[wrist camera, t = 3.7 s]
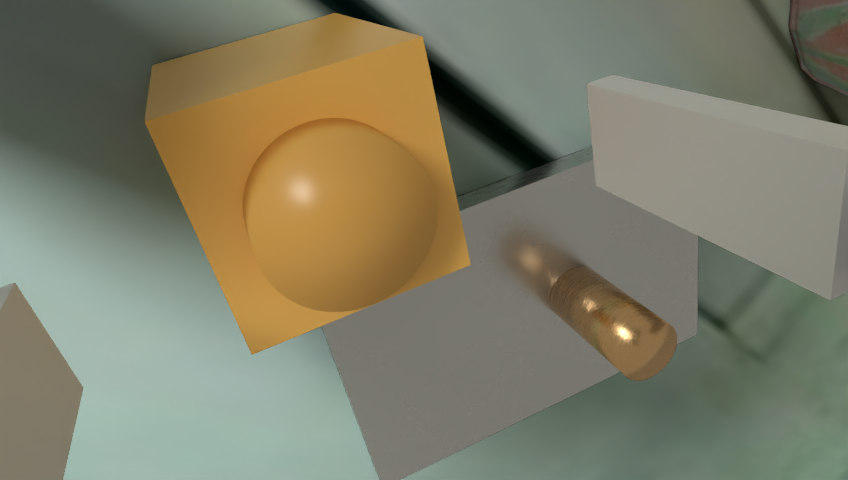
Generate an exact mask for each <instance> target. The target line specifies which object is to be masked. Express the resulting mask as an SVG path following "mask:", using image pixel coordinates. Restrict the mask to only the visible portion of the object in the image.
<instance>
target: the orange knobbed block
mask: <svg viewBox="0 0 848 480" xmlns="http://www.w3.org/2000/svg"><path fill="white" fill-rule="evenodd" d="M144 122H145V124H146V126H147V128H148V130H149V133H150V135H151V137H152V139H153V141H154V143H155V146H156V148H157V150H158V152H159V154H160V156H161V159H162V161H163V163H164V165H165V167H166V169H167V172H168V174H169V176H170V178H171V180H172V182H173V185H174V187H175V189H176V191H177V193H178V195H179V198H180V200H181V202H182V204H183V206H184V208H185V211H186V213H187V215H188V217H189V219H190V221H191V224H192V226H193V228H194V230H195V232H196V234H197V237H198V239H199V241H200V243H201V245H202V247H203V250H204V252H205V254H206V256H207V258H208V260H209V263H210V265H211V267H212V269H213V271H214V273H215V276H216V278H217V280H218V282H219V284H220V286H221V289H222V291H223V293H224V295H225V297H226V299H227V302H228V304H229V306H230V308H231V310H232V312H233V315H234V317H235V319H236V321H237V323H238V325H239V328H240V330H241V332H242V334H243V336H244V338H245V341H246V343H247V345H248V347H249V349H250V351H251V354H252V355H253V354H255V353H257V352H260V351H262V350H265V349H267V348H270V347H272V346H274V345H277V344H279V343H282V342H284V341H287V340H289V339H291V338H294V337H296V336H299V335H301V334H304V333H306V332H308V331H311V330H313V329H316V328H318V327H321V326H323V325H326V324H328V323H330V322H333V321H335V320H338V319H340V318H343V317H345V316H347V315H350V314H352V313H355V312H357V311H360V310H362V309H364V308H367V307H369V306H372V305H374V304H377V303H379V302H382V301H384V300H386V299H389V298H391V297H394V296H396V295H399V294H401V293H403V292H406V291H408V290H411V289H413V288H416V287H418V286H420V285H423V284H425V283H428V282H430V281H433V280H435V279H437V278H440V277H442V276H445V275H447V274H450V273H452V272H455V271H457V270H459V269H462V268H464V267H467V266H469V265H471V263H470V258H469V254H468V249H467V244H466V239H465V235H464V230H463V225H462V220H461V216H460V211H459V206H458V202H457V197H456V192H455V187H454V183H453V178H452V173H451V168H450V164H449V159H448V154H447V149H446V145H445V140H444V135H443V131H442V126H441V121H440V116H439V112H438V107H437V102H436V97H435V93H434V88H433V83H432V78H431V74H430V69H429V64H428V59H427V55H426V50H425V45H424V41H423V36H419V35H416V34H412V33H408V32H404V31H401V30H397V29H393V28H390V27H386V26H382V25H378V24H375V23H371V22H367V21H363V20H360V19H356V18H352V17H349V16H345V15H341V14H337V13H333V14H329V15H326V16H322V17H319V18H315V19H312V20H308V21H305V22H301V23H298V24H294V25H291V26H287V27H284V28H280V29H277V30H273V31H270V32H266V33H263V34H259V35H256V36H252V37H249V38H245V39H242V40H238V41H235V42H231V43H228V44H224V45H221V46H217V47H214V48H210V49H207V50H203V51H200V52H196V53H193V54H189V55H186V56H182V57H179V58H175V59H172V60H168V61H165V62H161V63H158V64H154V65H152V71H151V78H150V85H149V92H148V99H147V107H146V114H145V121H144Z"/></svg>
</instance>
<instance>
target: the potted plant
mask: <svg viewBox="0 0 848 480" xmlns="http://www.w3.org/2000/svg"><path fill="white" fill-rule="evenodd" d="M789 30H790V33H791V37H792V40H793V43H794V47H795V50H796V53H797V57H798V60H799V64H800V67H801V69H802V70H803V71H804V72H805V73H806V74H807V75H808V76H809V77H811V78H812V79H813V80H815V81H817V82H819V83H821V84H823V85H825V86H827V87H829V88H831V89H833V90H836V91H838V92H840V93H842V94H844V95H846V96H848V0H791V8H790V18H789Z"/></svg>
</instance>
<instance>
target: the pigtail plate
mask: <svg viewBox="0 0 848 480" xmlns="http://www.w3.org/2000/svg"><path fill="white" fill-rule="evenodd" d="M457 202H458V206H459V211H460V216H461V220H462V225H463V230H464V235H465V239H466V244H467V249H468V254H469V258H470V263H471V265H469V266H467V267H464V268H462V269H459V270H457V271H455V272H452V273H450V274H447V275H445V276H442V277H440V278H437V279H435V280H433V281H430V282H428V283H425V284H423V285H420V286H418V287H416V288H413V289H411V290H408V291H406V292H403V293H401V294H399V295H396V296H394V297H391V298H389V299H386V300H384V301H382V302H379V303H377V304H374V305H372V306H369V307H367V308H364V309H362V310H360V311H357V312H355V313H352V314H350V315H347V316H345V317H343V318H340V319H338V320H335V321H333V322H330V323H328V324H326V325H323V326H322V329H323V332H324V334H325V337H326V340H327V342H328V345H329V348H330V350H331V353H332V355H333V358H334V361H335V363H336V366H337V369H338V371H339V374H340V377H341V379H342V382H343V385H344V387H345V390H346V393H347V395H348V398H349V401H350V403H351V406H352V409H353V411H354V414H355V416H356V419H357V422H358V424H359V427H360V430H361V432H362V435H363V438H364V440H365V443H366V446H367V448H368V451H369V454H370V456H371V459H372V462H373V464H374V467H375V470H376V472H377V474H378V477H379V479H380V480H400V479H402V478H404V477H406V476H408V475H411V474H413V473H415V472H417V471H419V470H421V469H423V468H425V467H427V466H429V465H431V464H433V463H435V462H437V461H439V460H441V459H443V458H445V457H447V456H449V455H451V454H454V453H456V452H458V451H460V450H462V449H464V448H466V447H468V446H470V445H472V444H474V443H476V442H478V441H480V440H482V439H484V438H486V437H488V436H490V435H492V434H494V433H497V432H499V431H501V430H503V429H505V428H507V427H509V426H511V425H513V424H515V423H517V422H519V421H521V420H523V419H525V418H527V417H529V416H531V415H533V414H535V413H537V412H540V411H542V410H544V409H546V408H548V407H550V406H552V405H554V404H556V403H558V402H560V401H562V400H564V399H566V398H568V397H570V396H572V395H574V394H576V393H578V392H580V391H583V390H585V389H587V388H589V387H591V386H593V385H595V384H597V383H599V382H601V381H603V380H605V379H607V378H609V377H611V376H613V375H615V374H617V373H619V372H622V373H623V374H624V375H625V376H626V377H627V378H629V379H631V380H634V381H641V380H646V379H648V378H651V377H653V376H654V375H656V374H657V373H659V372H660V371H661V370H662V369H663V368H664V367H665V366H666V365H667V364H668V362H669V361H670V360H671V358H672V356H673V354H674V352H675V349H676V346H677V344H679V343H681V342H683V341H685V340H687V339H689V338H691V337H693V336H695V335H697V325H698V235H696V234H694V233H691V232H689V231H687V230H685V229H683V228H681V227H679V226H677V225H675V224H673V223H671V222H669V221H667V220H665V219H663V218H661V217H659V216H657V215H655V214H653V213H651V212H649V211H647V210H645V209H643V208H641V207H639V206H636V205H634V204H632V203H630V202H628V201H626V200H624V199H622V198H620V197H618V196H616V195H614V194H612V193H610V192H608V191H606V190H604V189H602V188H600V187H598V186H596V182H595V171H594V161H593V150H592V146H591V147H588V148H586V149H583V150H580V151H578V152H575V153H572V154H570V155H567V156H565V157H562V158H559V159H557V160H554V161H551V162H549V163H546V164H544V165H541V166H538V167H536V168H533V169H530V170H528V171H525V172H522V173H520V174H517V175H515V176H512V177H509V178H507V179H504V180H501V181H499V182H496V183H493V184H491V185H488V186H486V187H483V188H480V189H478V190H475V191H472V192H470V193H467V194H464V195H462V196H459V197H457Z"/></svg>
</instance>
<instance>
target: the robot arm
mask: <svg viewBox="0 0 848 480" xmlns="http://www.w3.org/2000/svg"><path fill="white" fill-rule="evenodd" d="M586 87H587V98H588V108H589V119H590V129H591V140H592V150H593V161H594V171H595V182H596V186H598V187H600V188H602V189H604V190H606V191H608V192H610V193H612V194H614V195H616V196H618V197H620V198H622V199H624V200H626V201H628V202H630V203H632V204H634V205H636V206H639V207H641V208H643V209H645V210H647V211H649V212H651V213H653V214H655V215H657V216H659V217H661V218H663V219H665V220H667V221H669V222H671V223H673V224H675V225H677V226H679V227H681V228H683V229H685V230H687V231H689V232H691V233H694V234H696V235H698V236H700V237H702V238H704V239H706V240H708V241H710V242H712V243H714V244H716V245H718V246H720V247H722V248H724V249H726V250H728V251H730V252H732V253H734V254H736V255H738V256H740V257H742V258H744V259H747V260H749V261H751V262H753V263H755V264H757V265H759V266H761V267H763V268H765V269H767V270H769V271H771V272H773V273H775V274H777V275H779V276H781V277H783V278H785V279H787V280H789V281H791V282H793V283H795V284H797V285H799V286H802V287H804V288H806V289H808V290H810V291H812V292H814V293H816V294H818V295H820V296H822V297H824V298H826V299H828V300H830V301H831V300H833V299H835V298H837V297H839V296H841V295H843V294H845V293H847V292H848V126H845V125H841V124H836V123H831V122H827V121H822V120H818V119H813V118H809V117H804V116H799V115H795V114H790V113H786V112H781V111H777V110H772V109H767V108H763V107H758V106H754V105H749V104H745V103H740V102H735V101H731V100H726V99H722V98H717V97H713V96H708V95H703V94H699V93H694V92H690V91H685V90H681V89H676V88H671V87H667V86H662V85H658V84H653V83H648V82H644V81H639V80H635V79H630V78H626V77H621V76H616V75H610V76H607V77H604V78H601V79H599V80H596V81H593V82H590V83H587V84H586ZM82 392H83V386H82V385H81V383H80V382H79V380H78V379H77V377H76V376H75V374H74V373H73V371H72V370H71V368H70V367H69V365H68V363H67V362H66V360H65V359H64V357H63V356H62V354H61V353H60V351H59V350H58V348H57V347H56V345H55V343H54V342H53V340H52V339H51V337H50V336H49V334H48V333H47V331H46V330H45V328H44V327H43V325H42V323H41V322H40V320H39V319H38V317H37V316H36V314H35V313H34V311H33V310H32V308H31V307H30V305H29V303H28V302H27V300H26V299H25V297H24V296H23V294H22V293H21V291H20V290H19V288H18V287H17V285H16V283H12V284H9V285H7V286H4V287H1V288H0V480H63V476H64V472H65V468H66V463H67V459H68V454H69V450H70V445H71V441H72V436H73V432H74V427H75V423H76V418H77V414H78V409H79V405H80V400H81V396H82Z"/></svg>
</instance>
